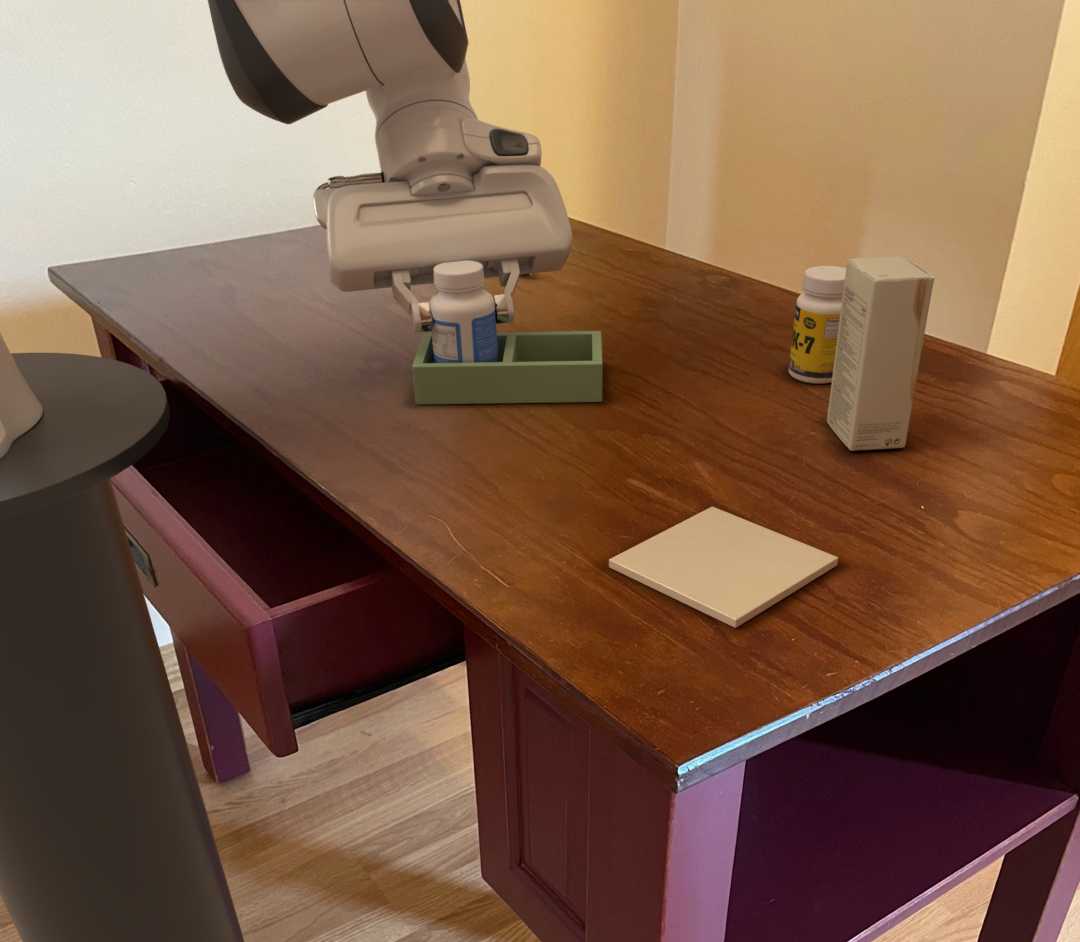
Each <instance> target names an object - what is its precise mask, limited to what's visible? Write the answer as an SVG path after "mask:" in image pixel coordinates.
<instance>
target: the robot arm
mask: <svg viewBox="0 0 1080 942" xmlns="http://www.w3.org/2000/svg"><path fill="white" fill-rule="evenodd" d="M207 2H208V8H209V9H208V10H209V13H210V18H211V23H212V28H213V32H214V36H215V40H216V45H217V50H218V55H219V58H220V61H221V64H222V68H223V70H224V73H225V75H226V77H227V79H228V81H229V83H230V85H231V87H232V90H233V91H234V93H235V95H236V97H237V98H238V100H239V101H240V102H241V103H242V104H244V105H245V106H247V107H248V108H250V109H251V110H253V111H254V112H256V113H259V114H260V115H263V116H264V117H266V118H269V119H271V120H273V121H276V122H279V123H282V124H285V125H292V124H294V123H296V122H299V121H301V120H302V119H304V118H307V117H309V116H311V115H312V114H314V113H317V112H319V111H322V110H324V109H325V108H326V107H328V106H329V105H331V104H332V103H336V102H339V101H341V100H344V99H347V98H349V97H352V96H355V95H358V94H361V93H363V92H365V96H366V98H367V99H366V100H367V103H368V106H369V108H370V110H371V112H372V113H373V115H374V118H375V129H374V142H375V147H376V153H377V158H378V164H379V168H380V172H371V173H370V172H369V173H362V174H357V175H351V176H344V175H335V176H330V177H328V178H327V182H324V183H322V184H321V185H318V187H317V188H316V189H315V190H314V192H313V196H312V205H313V210H314V215H315V218H316V221H317V223H318V224H319V225H320V226H321V227H322V228H323V229H324V230H326V248H327V249H326V251H327V260H328V261H327V262H328V270H329V277H330V281H331V283H332V284H333V285H334V286H335V287H336V288H337V289H338V290H340V291H341V292H344V293H349V292H359V291H367V290H369V291H370V290H378V289H387V288H388V289H390V288H391V291H392V297H393V299H394V300H395V301H396V302H397V304H398V305H399V306H400V307H401V309H403V310H404V311H405V312H406V313H407V315H409V316H410V319H411V324H412V329H413V333H414V334H417V333H427V332H431V331H432V326H433V320H432V315H431V314H430V311H431V309H430V304H429V302H430V301H426V302H425V301H424V302H420V301H419V300H418V299H417V297H416V296H415V295H414V294H413V293H412V291H411V286H419V285H428V284H429V285H430V284H434V267H435V266H436V265H438V264H441V263H447V262H456V261H465V260H468V261H475V262H479V263H481V264H482V265H483V272H484V279H489V278H498V280H499V286H501V287H505V288H504V291H503V293H501V294H495V295H493V296H492V297H493V299H494V303H495V315H496V325H500V324H501V325H502V324H510V323H512V324H513V322H514V319H515V306H514V302H513V297H514V293H515V291H516V288H517V286H518V281H519V277H520V274H530V273H531V274H539V273H548V272H549V273H550V272H557V271H560V270H562V269H563V267H564V266H565V264H566V263H567V261H568V259H569V257H570V254H571V252H572V247H573V239H574V238H573V232H572V227H571V223H570V218H569V216H568V212H567V209H566V205H565V202H564V199H563V197H562V194H561V191H560V188H559V185H558V184H557V182H556V180H555V178H554V177H553V175H552V173H550V172H549V171H548V170H547V169H545V168H544V167H542V154H543V153H542V152H543V151H542V144H541V142H540V140H539V138H538V137H537V136H536V135H533V134H531V133H528V132H523V131H519V130H514V129H509V128H505V127H501V126H498V125H494V124H490V123H487V122H485V121H482V120H479V118H478V115H477V114H476V111H475V110H474V108H473V106H472V105H471V104H472V103H471V102H470V101H471V100H470V91H471V78H470V73H469V69H468V64H467V59H466V57H467V51H468V47H469V38H468V34H467V33H468V32H467V29H466V22H465V19H464V13H463V9H462V5H461V4H462V3H461V0H207ZM11 353H12V352H11V351H10V349H9V347H8V346H7V343H6V340H5V339H4V336H3V334H2V332H1V331H0V458H2V457H3V456H4V455H5V454H6V453H7V452H8V450H9V448H10V446H11V444H12V442H13V441H14V440H15V439H17V438H18V437H19V436H21V435H22V434H24V433H25V432H27V431H28V430H29V429H31V428H32V427H33V426H34V425H35V424H36V423H37V422H38V421H39V420H40V418H41V416H42V414H43V407H42V405H41V403H40V402H39V400H38V399H37V397H36V396H35V394H34V393H33V392H32V390H31V388H30V387H29V385H28V384H27V382H26V381H25V379H24V377H23V375H22V374H21V372H20V370H19V368H18V367H17V365H16V363H15V361H14V359H13V357H12V355H11Z"/></svg>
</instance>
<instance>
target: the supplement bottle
mask: <svg viewBox="0 0 1080 942" xmlns="http://www.w3.org/2000/svg"><path fill="white" fill-rule="evenodd" d="M845 274H846V267H841V266H835V265H818V266H817V265H816V266H812V267H809V268H807V269H806V270H805V271H804V273H803V280H802V285H801V286H802V291H803V292H802V293H801V294H800V295H798V297H797V299H796V303H795V309H794V310H795V311H794V319H793V327H792V335H791V343H790V344H791V345H790V352H789V353H790V354H789V361H788V373H789V376H791V377H792V378H793V379H795V380H797V381H800V382H803V383H806V384H815V385H822V384H823V385H824V384H832V377H833V369H834V361H835V353H836V345H837V337H838V329H839V321H840V314H841V306H842V298H843V290H844V282H845Z"/></svg>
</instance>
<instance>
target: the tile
mask: <svg viewBox="0 0 1080 942" xmlns="http://www.w3.org/2000/svg"><path fill="white" fill-rule="evenodd" d="M838 562H839V557H838V556H836V555H834V554H831V553H829V552H826V551H824V550H821V549H820V548H816V547H814V546H812V545H809V544H807V543H804V542H802V541H800V540H797V539H794V538H791V537H790V536H787V535H784V534H782V533H780V532H777V531H774V530H772V529H769V528H767V527H764V526H762V525H760V524H758V523H754V522H752V521H750V520H747V519H745V518H742V517H740V516H738V515H735V514H733V513H730V512H727V511H725V510H722V509H719V508H717V507H715V506H710V507H708V508H706V509H705V510H702V511H701V512H698V513H696V514H695V515H692V516H691V517H688V518H687V519H685V520H683V521H680V522H679V523H677V524H675V525H673V526H671V527H669V528H667V529H665V530H663V531H661V532H660V533H657V534H655V535H653V536H652V537H649V538H647V539H645V540H644V541H642V542H640V543H638V544H636V545H634V546H632V547H631V548H627V550H625V551H623V552H620V553H619V554H616V555H615V556H613V557H611V558H609V559H608V568H610V569H612V570H614V571H616V572H618V573H620V574H622V575H624V576H626V577H628V578H630V579H632V580H634V581H636V582H638V583H640V584H643V585H645V586H647V587H649V588H651V589H653V590H655V591H657V592H659V593H661V594H663V595H665V596H667V597H670V598H672V599H674V600H676V601H678V602H680V603H682V604H684V605H687V606H688V607H690V608H693V609H694V610H697V611H698V612H701V613H703V614H705V615H707V616H709V617H711V618H713V619H715V620H718V621H719V622H722V623H724V624H726V625H728V626H730V627H732V628H735V629H737V628H738V627H740V626H742V625H743V624H744V623H746V622H748V621H749V620H751V619H753V618H754V617H756V616H758V615H759V614H761V613H763V612H764V611H766V610H767V609H770V608H771V607H773V606H774V605H776V604H777V603H779V602H780V601H782V600H784V599H785V598H787V597H789V596H790V595H792V594H793V593H795V592H796V591H798V590H800V589H801V588H803V587H804V586H806V585H808V584H809V583H811V582H813V581H814V580H816V579H817V578H820V577H821V576H822V575H824V574H826V573H827V572H829V571H830V570H832V569H834V568H835V567H837V566H838Z"/></svg>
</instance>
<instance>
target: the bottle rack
mask: <svg viewBox="0 0 1080 942" xmlns="http://www.w3.org/2000/svg"><path fill="white" fill-rule="evenodd" d="M602 341H603V340H602V330H569V331H567V330H566V331H565V330H562V331H509V332H508V331H507V332H506V331H505V332H501V331H500V332H497V344H498V359H499V362H480V363H435V361H434V351H433V342H432V333H423V334H422V336H421V340H420V343H419V345H418V347H417V348H418V349H417V351H416V354H415V357H414V360H413V362H412V366H411V372H412V382H413V383H412V384H413V391H414V392H413V393H414V402H415V405H417V406H420V405H421V406H423V405H478V404H479V405H480V404H481V405H485V404H487V405H488V404H489V405H490V404H491V405H492V404H494V405H495V404H551V403H553V404H556V403H557V404H560V403H561V404H563V403H602V402H603V374H604V373H603V369H604V368H603V367H604V365H603V362H604V361H603V342H602Z"/></svg>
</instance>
